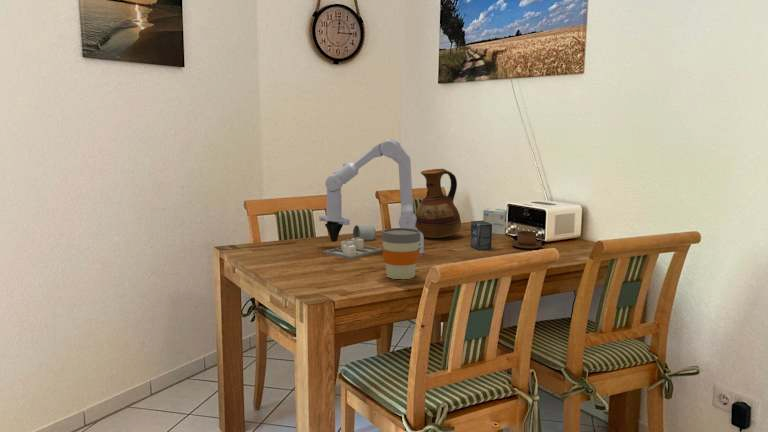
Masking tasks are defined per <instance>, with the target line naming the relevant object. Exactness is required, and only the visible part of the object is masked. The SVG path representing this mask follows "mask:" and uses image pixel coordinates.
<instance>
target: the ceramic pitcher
mask: <svg viewBox="0 0 768 432" xmlns="http://www.w3.org/2000/svg"><path fill="white" fill-rule="evenodd" d="M420 174H421V175H422V176H423V177H424V178H425V180H426V181H425V183H426V184H425V185H426V189H427V192H426V196H425V197H424V198H423V199H422V200H421V201H420V203H419V204H418V206H417V208H416V212H415V215H416V218H417V220H416V224H415V227H416V228H417V230H419V231H420V232H421V233H423V236H424V238H430V239H431V238H433V239H436V238H445V237H450V236H453V235H455V234H457V233H459V232H460V231H461V229H462V228H461V227H462V220H461V214H460V212H459V211H458V208H457V206H456V205H455V204H454V199H455V195H456V192H457V188H458V181H457V178H456V175H455V174H454V173H452V172H451V171H449V170H447V169H445V168H432V169H426V170H422V171H420ZM444 175H448V177H449V180H450V189H449V191H448V193H447V195H445V194H444V192H443V190H442V185H441V182H442V181H441V180H442V177H443V176H444Z"/></svg>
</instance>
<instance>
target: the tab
mask: <svg viewBox="0 0 768 432" xmlns="http://www.w3.org/2000/svg"><path fill="white" fill-rule="evenodd" d="M343 254H345V255H350V256H352V255H356V246H354V245H352V244H351V243H350V244H346V245H343Z"/></svg>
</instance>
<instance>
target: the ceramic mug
mask: <svg viewBox="0 0 768 432" xmlns="http://www.w3.org/2000/svg"><path fill="white" fill-rule="evenodd" d="M376 231H377V230H376V228H375V227H374V225H371V224H356V225H354V227H353V230H352V239H354V238H357V237H360V239H364V242H365V241H366V242H367V241H368V242H369V241H374V240H375V239H376V237H377V232H376Z"/></svg>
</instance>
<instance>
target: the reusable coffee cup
mask: <svg viewBox="0 0 768 432" xmlns="http://www.w3.org/2000/svg"><path fill="white" fill-rule="evenodd" d="M381 241H382V245H383V247H382V250H383V251H382V259H383V263H385V271H386V277H389V278H393V279H408V278H412V277H414V278H415V275H416V267H417V264H418V262H419V255H420V253H419V250H420V249H419V241H420V231H419V230H416V229H410V228H400V227H394V228H393V227H392V228H386V229H383V230H382V234H381ZM389 278H388V279H389ZM393 279H392V280H393Z"/></svg>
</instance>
